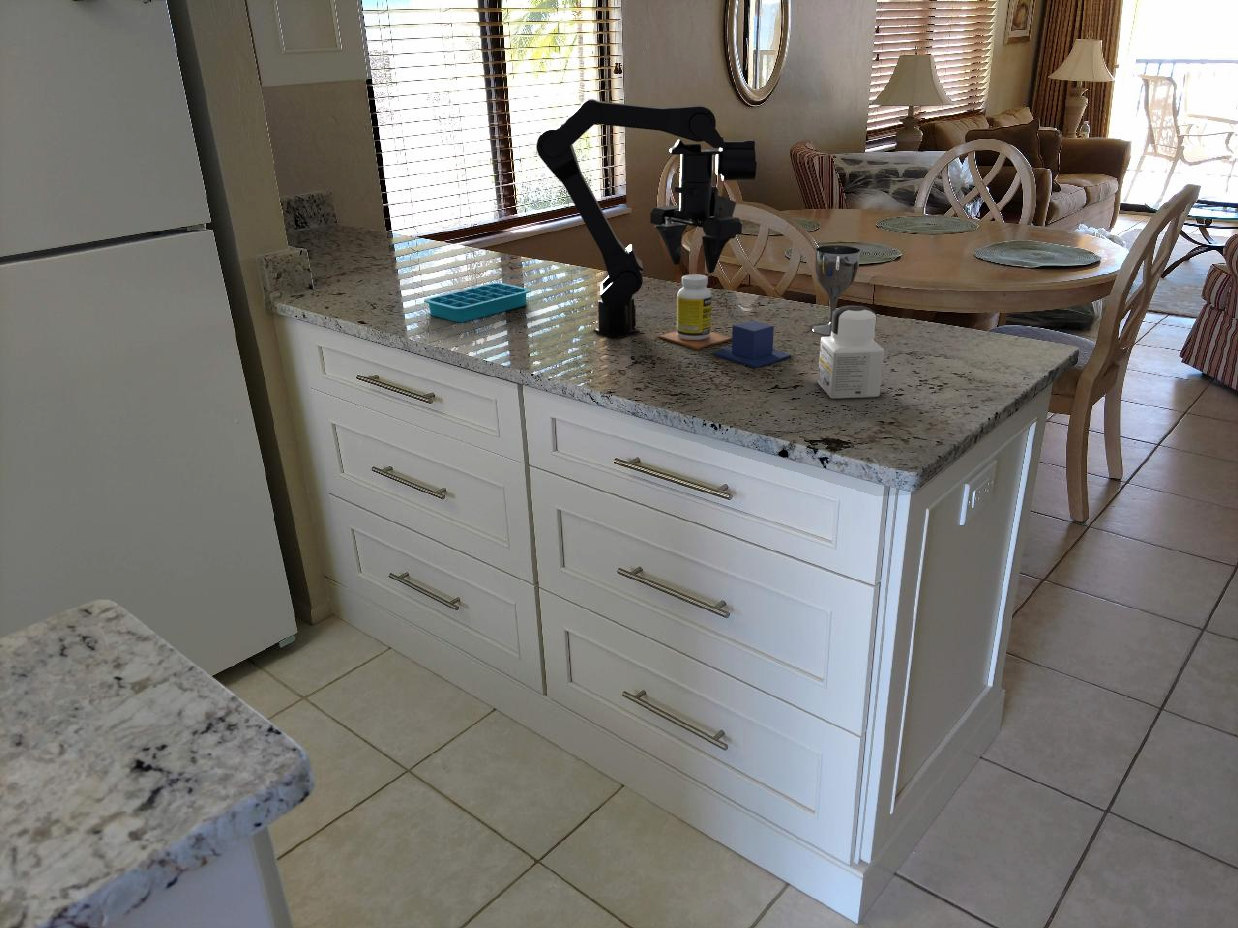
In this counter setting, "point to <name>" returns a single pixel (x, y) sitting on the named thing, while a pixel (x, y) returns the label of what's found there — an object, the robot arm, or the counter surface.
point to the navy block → (752, 339)
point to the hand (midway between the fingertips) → (693, 268)
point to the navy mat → (752, 362)
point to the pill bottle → (694, 308)
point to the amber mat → (696, 344)
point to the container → (851, 355)
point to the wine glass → (835, 275)
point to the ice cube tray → (477, 301)
